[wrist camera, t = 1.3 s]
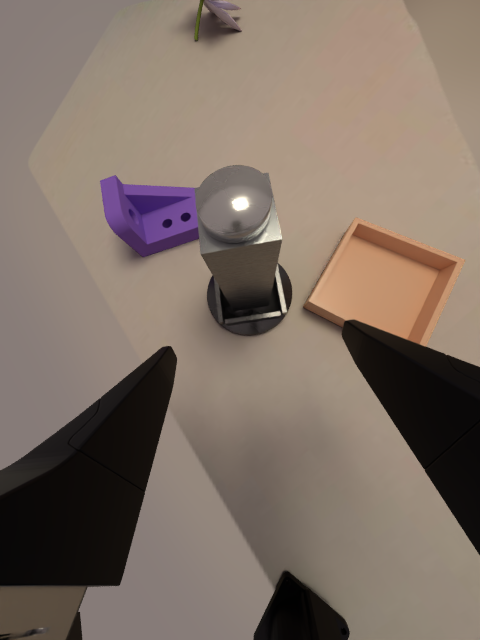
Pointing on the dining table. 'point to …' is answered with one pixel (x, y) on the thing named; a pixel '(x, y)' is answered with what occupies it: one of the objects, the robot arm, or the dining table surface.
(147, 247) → the bracket
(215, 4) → the water lily
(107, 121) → the dining table surface
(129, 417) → the robot arm
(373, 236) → the tray
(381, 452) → the dining table surface
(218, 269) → the strut
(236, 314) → the socket cup
